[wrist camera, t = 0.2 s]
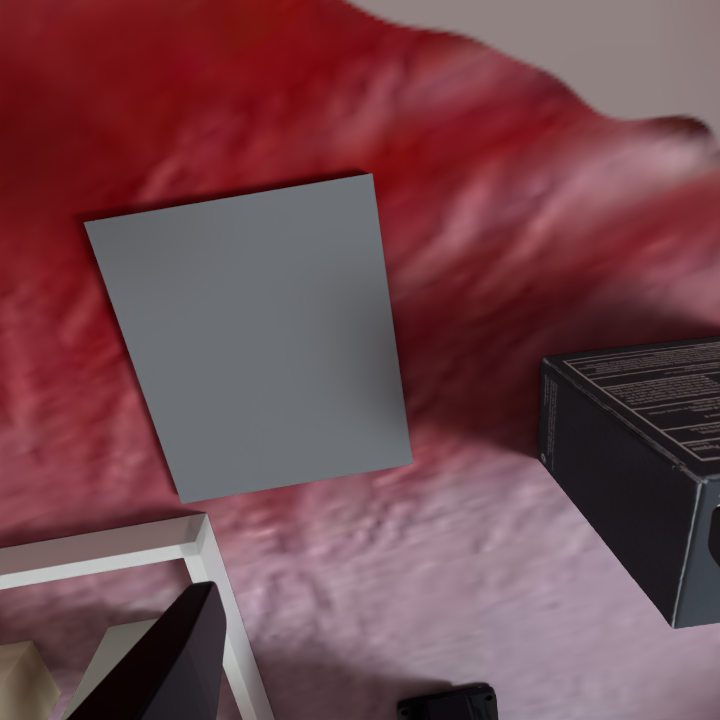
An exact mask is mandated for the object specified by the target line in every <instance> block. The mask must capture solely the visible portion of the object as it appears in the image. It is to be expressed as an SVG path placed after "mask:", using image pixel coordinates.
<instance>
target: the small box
mask: <svg viewBox="0 0 720 720" xmlns="http://www.w3.org/2000/svg"><path fill="white" fill-rule="evenodd" d="M540 376H541V385H540V389H541V401H540V417H539V420H540V423H539V432H538V450H539V455H538V458H539V461H540V462H541V463H542V465H543V466H544V467H545V468H546V469H547V471H548V472H549V473H550V475H551V476H552V477H553V478H554V479H555V480H556V482H557V483H558V484H559V486H560V487H561V488H562V489H563V491H564V492H565V493H566V494H567V496H568V497H569V498H570V499H571V501H572V502H573V503H574V504H575V506H576V507H577V508H578V509H579V511H580V512H581V513H582V514H583V516H584V517H585V518H586V519H587V520H588V522H589V523H590V525H591V526H592V527H593V528H594V530H595V531H596V532H597V533H598V534H599V536H600V537H601V538H602V540H603V541H604V542H605V543H606V545H607V546H608V547H609V548H610V550H611V551H612V552H613V554H614V555H615V556H616V557H617V559H618V560H619V561H620V562H621V564H622V565H623V566H624V568H625V569H626V570H627V571H628V573H629V574H630V575H631V577H632V578H633V579H634V580H635V581H636V582H637V584H638V585H639V586H640V588H641V589H642V590H643V591H644V592H645V594H646V595H647V596H648V597H649V599H650V600H651V601H652V602H653V604H654V605H655V606H656V607H657V609H658V610H659V611H660V612H661V614H662V615H663V617H664V618H665V620H666V621H667V623H668V624H669V625H670V626H671V627H672V628H673V629H679V628H685V627H693V626H699V625H707V624H714V623H720V568H719V566H718V565H717V564H716V562H715V561H714V560H713V558H712V556H711V554H710V552H709V549H708V544H707V542H708V534H709V528H710V521H711V515H712V511H713V510H714V509H715V508H716V507H718V506H720V336H716V337H708V338H699V339H690V340H678V341H673V342H664V343H655V344H647V345H638V346H630V347H621V348H613V349H604V350H595V351H587V352H578V353H571V354H563V355H556V356H545V357H544V358H543V360H542V362H541V368H540Z"/></svg>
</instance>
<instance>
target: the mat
mask: <svg viewBox="0 0 720 720" xmlns="http://www.w3.org/2000/svg"><path fill="white" fill-rule="evenodd" d="M84 224H85V227H86V230H87V233H88V236H89V239H90V242H91V245H92V247H93V250H94V253H95V256H96V259H97V262H98V265H99V268H100V270H101V273H102V276H103V279H104V282H105V285H106V288H107V291H108V293H109V296H110V299H111V302H112V305H113V308H114V311H115V313H116V316H117V319H118V322H119V325H120V328H121V331H122V334H123V336H124V339H125V342H126V345H127V348H128V351H129V354H130V357H131V359H132V362H133V365H134V368H135V371H136V374H137V377H138V379H139V382H140V385H141V388H142V391H143V394H144V397H145V400H146V402H147V405H148V408H149V411H150V414H151V417H152V420H153V423H154V425H155V428H156V431H157V434H158V437H159V440H160V443H161V445H162V448H163V451H164V454H165V457H166V460H167V463H168V466H169V468H170V471H171V474H172V477H173V480H174V483H175V486H176V489H177V491H178V494H179V497H180V500H181V503H182V504H184V503H190V502H196V501H202V500H207V499H213V498H219V497H225V496H231V495H236V494H242V493H248V492H254V491H260V490H265V489H271V488H277V487H283V486H288V485H294V484H300V483H306V482H312V481H317V480H323V479H329V478H335V477H341V476H346V475H352V474H358V473H364V472H369V471H375V470H381V469H387V468H393V467H398V466H404V465H410V464H413V461H412V454H411V447H410V440H409V433H408V426H407V418H406V411H405V404H404V397H403V390H402V383H401V376H400V369H399V361H398V354H397V347H396V340H395V333H394V326H393V319H392V311H391V304H390V297H389V290H388V283H387V276H386V269H385V262H384V254H383V247H382V240H381V233H380V226H379V219H378V212H377V205H376V197H375V190H374V183H373V176H372V174H366V175H360V176H354V177H348V178H342V179H336V180H331V181H325V182H319V183H313V184H307V185H301V186H295V187H289V188H283V189H278V190H272V191H266V192H260V193H254V194H248V195H242V196H236V197H231V198H225V199H219V200H213V201H207V202H201V203H195V204H189V205H183V206H178V207H172V208H166V209H160V210H154V211H148V212H142V213H136V214H131V215H125V216H119V217H113V218H107V219H101V220H95V221H89V222H84Z"/></svg>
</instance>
